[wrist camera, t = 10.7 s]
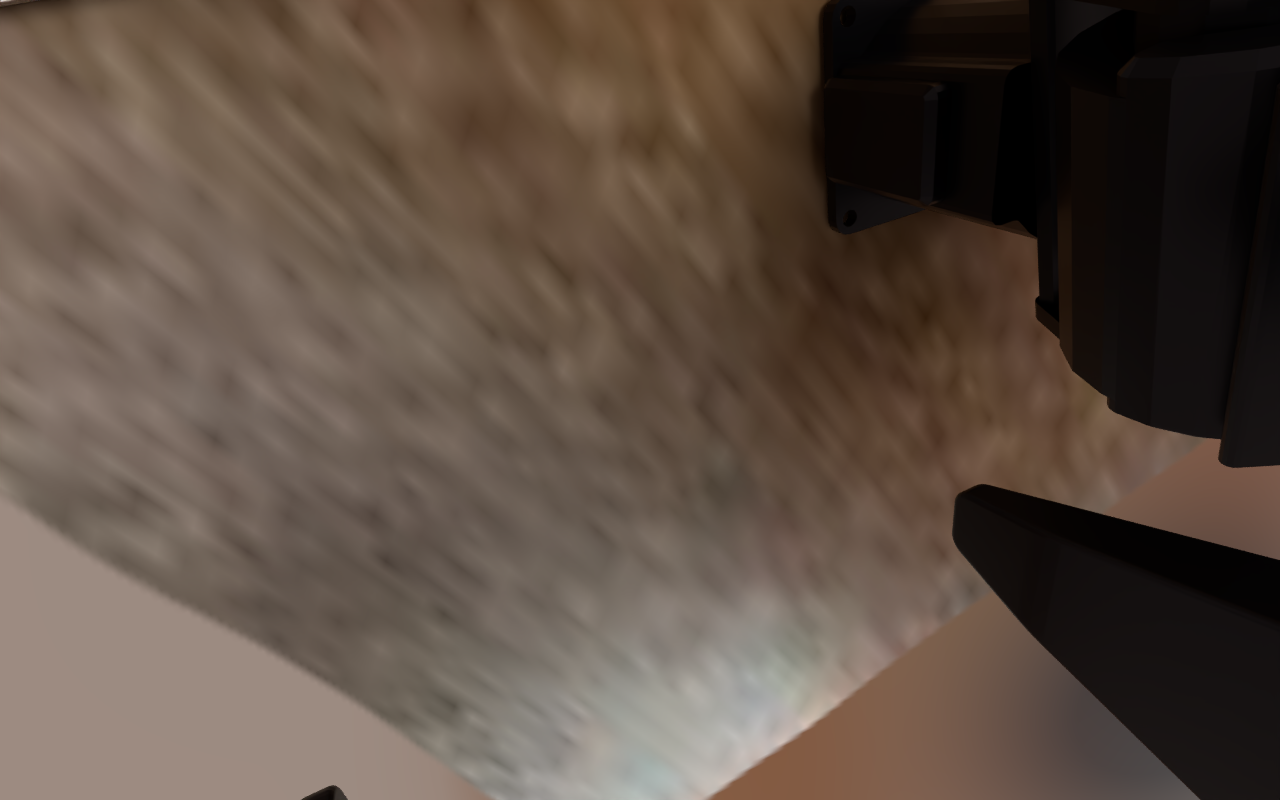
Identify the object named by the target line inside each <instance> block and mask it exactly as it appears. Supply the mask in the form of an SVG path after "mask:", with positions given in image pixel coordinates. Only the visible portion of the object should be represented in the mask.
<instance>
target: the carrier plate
mask: <svg viewBox="0 0 1280 800" xmlns="http://www.w3.org/2000/svg"><path fill="white" fill-rule="evenodd" d="M33 1H39V0H0V7H2V6H8V5H14V4H20V3H27V2H33Z"/></svg>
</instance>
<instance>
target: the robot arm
mask: <svg viewBox="0 0 1280 800" xmlns="http://www.w3.org/2000/svg"><path fill="white" fill-rule="evenodd" d="M843 8H844V9H845V10H846V14H847V16H846V21H845V23H844V24H843V25H842V24H841V21H840V15H841V12H842V10H843ZM823 33H824V71H825V88H824V123H825V160H826V175H827V186H828V221H829V225H830V227H831V228H832V230H834V231H837V232H839V233H842V234H852V233H855V232H858V231H861V230H864V229H867V228H870V227H873V226H876V225H879V224H882V223H885V222H888V221H891V220H895V219H898V218H901V217H904V216H907V215H910V214H913V213H916V212H919V211H922V210H925V209H928V210H931V211H935V212H939V213H942V214H946V215H950V216H953V217H957V218H961V219H964V220H968V221H972V222H975V223H979V224H983V225H986V226H990V227H994V228H997V229H1001V230H1005V231H1008V232H1012V233H1016V234H1019V235H1023V236H1027V237H1030V238H1034V239H1037V245H1038V272H1039V296H1038V297H1037V298H1036V300H1035V308H1036V318H1037V320H1038V321H1040V322H1041V323H1042V324H1043V325H1044V326H1045V327H1046V328H1047V329H1049V330H1050V331H1051V332H1052V333H1053V334H1054V335H1055V336H1056V337H1057V338H1059V339H1060V347H1061V349H1062V351H1063V353H1064V355H1065V357H1066V359H1067V361H1068V363H1069V365H1070V367H1071V369H1072V371H1073V372H1075V373H1076V374H1077V375H1078V376H1080V377H1081V378H1082V379H1084V380H1085V381H1086V382H1087V383H1089V384H1090V385H1091V386H1092V387H1094V388H1095V389H1096V390H1097V391H1099V392H1100V393H1101V394H1103V395H1105V396H1107V405H1108V407H1109V409H1111V410H1112V411H1113V412H1115V413H1117V414H1120V415H1122V416H1125V417H1127V418H1130V419H1133V420H1135V421H1138V422H1140V423H1143V424H1145V425H1148V426H1151V427H1155V428H1159V429H1163V430H1168V431H1172V432H1176V433H1181V434H1185V435H1189V436H1194V437H1203V438H1213V439H1221V444H1220V450H1219V457H1218V460H1219V461H1220V462H1221V464H1223V465H1225V466H1228V467H1232V468H1241V467H1256V466H1273V465H1280V0H831V1H830V2H829V3H828V4H827V7H826V9H825V11H824V18H823ZM847 211H848V212H849V215H848V218H847V220H846V221H845V222H844V223H843V218H844V215H845V213H846V212H847ZM952 536H953V540H954V543H955V545H956V547H957V548H958V550H959V551H960V552H961V554H962V555H963V556H964V557H965V558H966V559H967V561H968V562H969V563H970V564H971V565H972V566H973V568H974V569H975V570H976V571H977V572H978V574H979V575H980V576H981V577H982V578H983V579H984V581H985V582H986V583H987V584H988V585H989V586H990V588H991V589H992V590H993V591H994V592H995V593H996V595H997V596H998V597H999V598H1000V599H1001V601H1002V602H1003V603H1004V604H1005V605H1006V606H1007V608H1008V609H1009V610H1010V611H1011V612H1012V613H1013V615H1014V616H1015V617H1016V618H1017V619H1018V620H1019V621H1020V623H1021V624H1022V625H1023V626H1024V627H1025V628H1026V629H1027V630H1028V631H1029V632H1030V633H1031V634H1032V636H1033V637H1034V638H1036V640H1037V641H1038V642H1039V643H1040V644H1041V645H1042V646H1043V647H1044V648H1045V649H1046V650H1047V651H1048V652H1049V653H1051V654H1052V655H1053V656H1054V657H1055V658H1056V659H1057V660H1058V661H1059V662H1060V663H1061V664H1062V665H1063V666H1064V667H1065V668H1066V669H1067V670H1068V671H1069V672H1070V673H1071V674H1072V675H1073V676H1074V677H1075V678H1076V679H1077V680H1078V681H1079V682H1080V683H1081V684H1082V685H1083V686H1084V687H1085V688H1086V689H1087V690H1088V691H1090V693H1092V694H1093V695H1094V696H1095V697H1096V698H1097V699H1098V700H1099V701H1100V702H1101V703H1102V704H1103V705H1104V706H1105V707H1106V708H1107V709H1108V710H1109V711H1110V712H1111V713H1112V714H1113V715H1114V716H1115V717H1116V718H1117V719H1118V720H1119V721H1120V722H1121V723H1122V724H1123V725H1124V726H1125V727H1126V728H1127V729H1128V730H1130V731H1131V733H1133V734H1134V735H1135V736H1136V737H1137V738H1138V739H1139V740H1140V741H1141V742H1142V743H1143V744H1144V745H1145V746H1146V747H1147V748H1148V749H1149V750H1150V751H1151V752H1152V753H1153V754H1154V755H1155V756H1156V757H1157V758H1158V759H1159V760H1160V761H1161V762H1162V763H1163V764H1164V765H1165V766H1166V767H1167V768H1168V769H1169V770H1170V771H1171V772H1172V773H1174V774H1175V775H1176V776H1177V777H1178V778H1179V779H1180V780H1181V781H1182V782H1183V783H1184V784H1185V785H1186V786H1187V787H1188V788H1189V789H1190V790H1191V791H1192V792H1193V793H1194V794H1195V795H1196V796H1197V797H1198V798H1199V799H1200V800H1280V560H1277V559H1273V558H1269V557H1265V556H1262V555H1258V554H1254V553H1250V552H1246V551H1242V550H1238V549H1234V548H1231V547H1227V546H1223V545H1219V544H1215V543H1211V542H1207V541H1203V540H1200V539H1196V538H1192V537H1188V536H1184V535H1180V534H1177V533H1173V532H1168V531H1165V530H1161V529H1157V528H1153V527H1149V526H1146V525H1141V524H1138V523H1134V522H1130V521H1126V520H1122V519H1119V518H1115V517H1111V516H1107V515H1103V514H1099V513H1095V512H1091V511H1088V510H1084V509H1080V508H1076V507H1072V506H1068V505H1064V504H1061V503H1057V502H1053V501H1049V500H1045V499H1041V498H1037V497H1033V496H1030V495H1026V494H1022V493H1018V492H1014V491H1010V490H1006V489H1003V488H999V487H995V486H991V485H986V484H979V485H976V486H973V487H971V488H969V489H967V490H965V491H963V492H961V493H959V494H958V495H957V497H956V499H955V506H954V517H953V529H952ZM302 800H348V799H347V798H346V796H345V795H344V793H343V792H342V790H341V789H340V788H338V787H337V786H334V785H332V786H328V787H326V788H324V789H322V790H320V791H318V792H316V793H313V794H311V795H309V796H307V797H305V798H303V799H302Z"/></svg>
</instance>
